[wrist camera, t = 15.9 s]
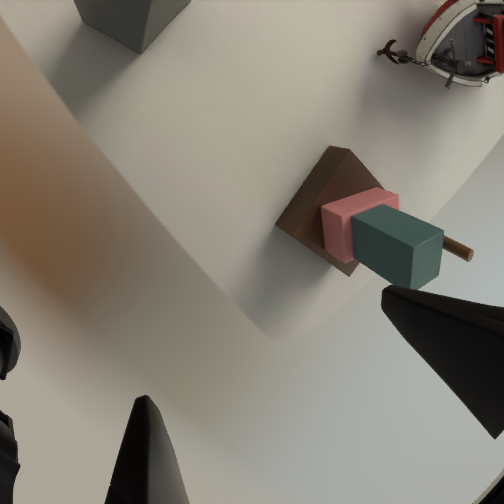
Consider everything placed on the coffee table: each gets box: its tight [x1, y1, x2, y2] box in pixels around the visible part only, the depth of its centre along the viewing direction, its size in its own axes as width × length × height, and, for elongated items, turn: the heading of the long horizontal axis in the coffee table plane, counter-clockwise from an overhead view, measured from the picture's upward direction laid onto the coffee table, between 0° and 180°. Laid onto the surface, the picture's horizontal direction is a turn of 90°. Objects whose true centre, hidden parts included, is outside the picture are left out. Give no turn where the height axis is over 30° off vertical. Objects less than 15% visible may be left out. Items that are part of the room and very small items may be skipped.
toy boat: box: [377, 0, 504, 89], centre depth 16 cm, size 13×30×17 cm, turn 121°
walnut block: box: [276, 146, 385, 277], centre depth 23 cm, size 8×8×2 cm
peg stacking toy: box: [321, 187, 474, 290], centre depth 18 cm, size 6×4×10 cm, turn 102°
